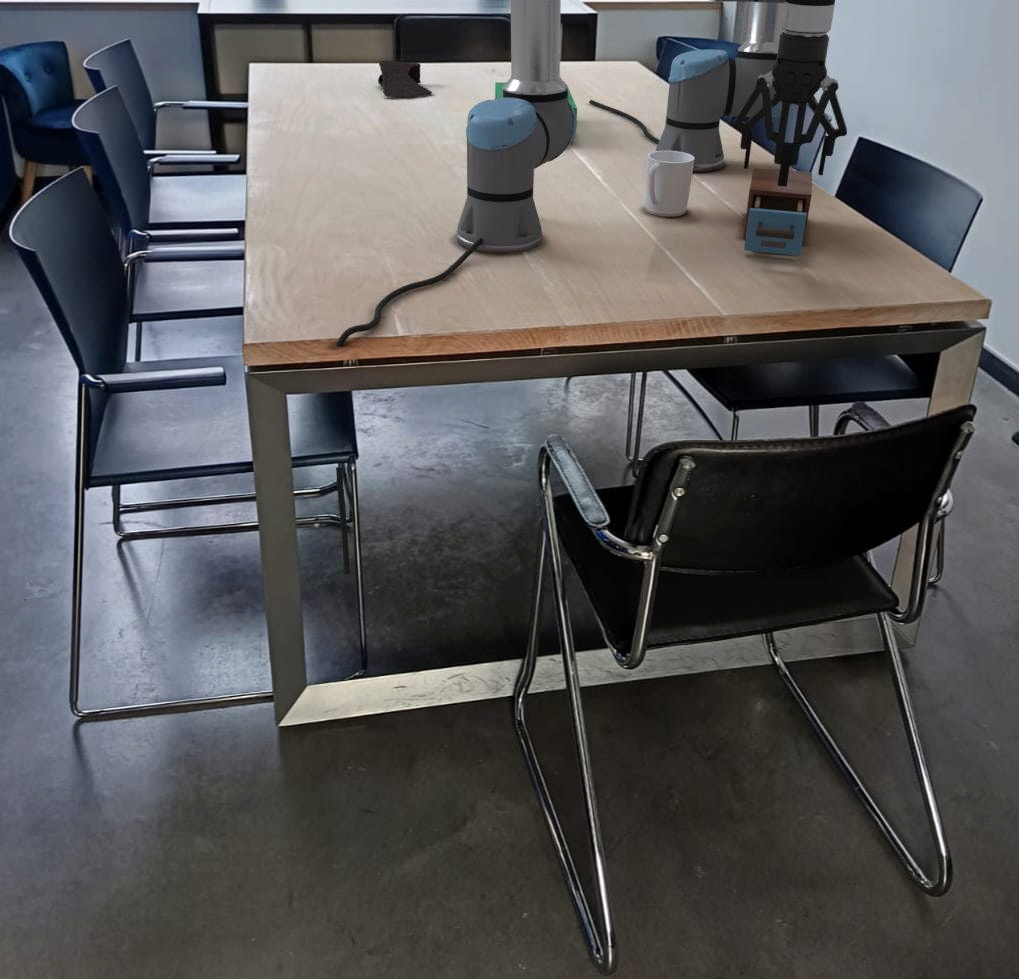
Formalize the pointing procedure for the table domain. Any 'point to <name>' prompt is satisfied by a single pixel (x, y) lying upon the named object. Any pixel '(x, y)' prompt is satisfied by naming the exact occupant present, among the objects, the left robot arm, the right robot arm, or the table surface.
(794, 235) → the drawer
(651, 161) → the mug
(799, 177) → the cabinet
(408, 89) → the axe head
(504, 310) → the table surface
